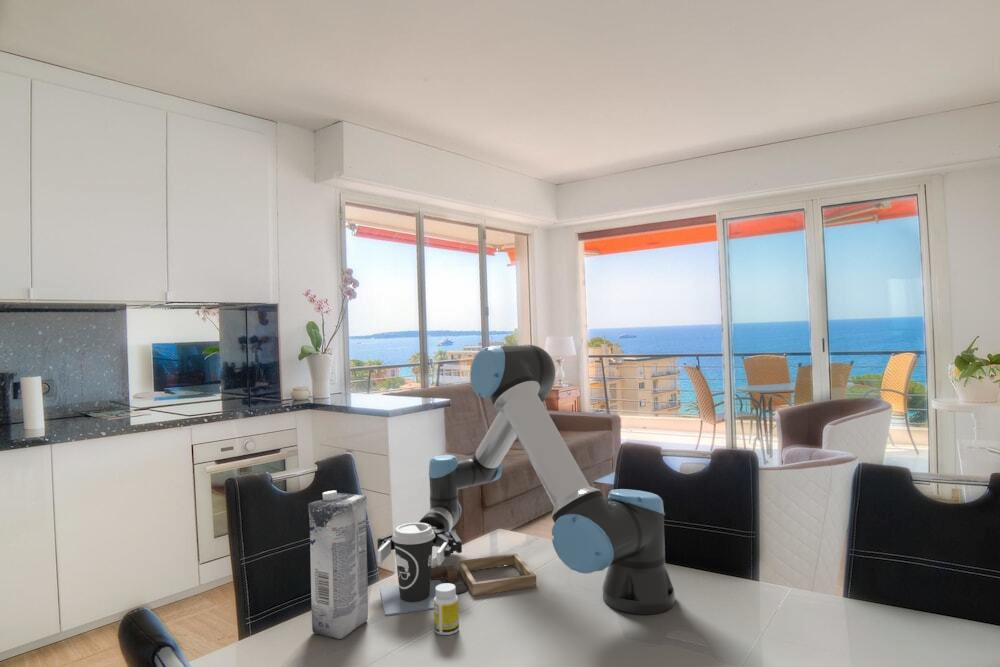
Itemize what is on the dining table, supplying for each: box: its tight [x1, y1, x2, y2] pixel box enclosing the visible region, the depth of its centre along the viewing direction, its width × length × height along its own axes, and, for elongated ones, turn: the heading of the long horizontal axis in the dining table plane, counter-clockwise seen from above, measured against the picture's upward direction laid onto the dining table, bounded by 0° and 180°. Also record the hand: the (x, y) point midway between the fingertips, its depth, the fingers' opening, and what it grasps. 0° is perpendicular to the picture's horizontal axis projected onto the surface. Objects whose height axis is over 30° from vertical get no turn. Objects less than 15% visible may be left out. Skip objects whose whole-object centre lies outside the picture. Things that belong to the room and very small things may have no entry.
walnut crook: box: [430, 564, 458, 583], centre depth 143 cm, size 5×8×2 cm, turn 104°
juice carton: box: [307, 490, 369, 640], centre depth 120 cm, size 9×10×27 cm
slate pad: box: [379, 579, 443, 617], centre depth 133 cm, size 14×14×1 cm
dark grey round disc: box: [454, 583, 469, 595], centre depth 137 cm, size 5×5×1 cm
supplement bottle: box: [433, 582, 460, 636], centre depth 118 cm, size 5×5×8 cm
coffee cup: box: [392, 522, 435, 602], centre depth 133 cm, size 10×10×15 cm
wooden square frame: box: [458, 553, 537, 597], centre depth 142 cm, size 15×15×2 cm
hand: (408, 557), depth 130 cm, fingers open, 13 cm apart
